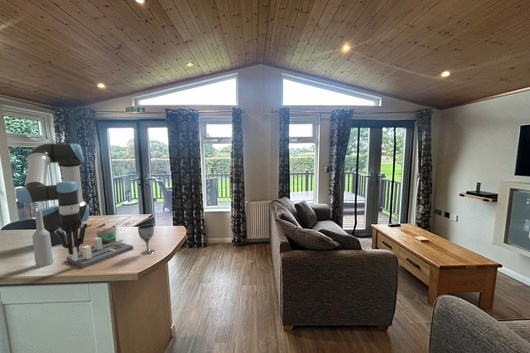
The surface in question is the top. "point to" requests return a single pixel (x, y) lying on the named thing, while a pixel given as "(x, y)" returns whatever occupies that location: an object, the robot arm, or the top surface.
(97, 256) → the console
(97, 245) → the fader
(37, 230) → the bottle
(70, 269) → the top surface
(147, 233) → the wine glass
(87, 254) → the fader
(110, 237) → the food container
